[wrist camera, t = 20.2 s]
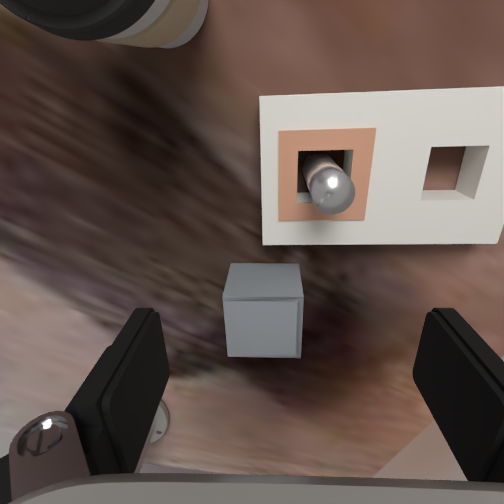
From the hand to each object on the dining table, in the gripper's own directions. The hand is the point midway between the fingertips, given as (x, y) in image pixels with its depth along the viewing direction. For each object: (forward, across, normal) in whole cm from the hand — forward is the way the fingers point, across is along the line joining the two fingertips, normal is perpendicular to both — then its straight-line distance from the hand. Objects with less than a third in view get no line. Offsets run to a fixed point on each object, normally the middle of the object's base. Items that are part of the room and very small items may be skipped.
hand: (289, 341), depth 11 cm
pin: (+20, -4, -2) cm, 20 cm away
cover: (+20, +1, +11) cm, 23 cm away
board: (+20, -9, -2) cm, 22 cm away
